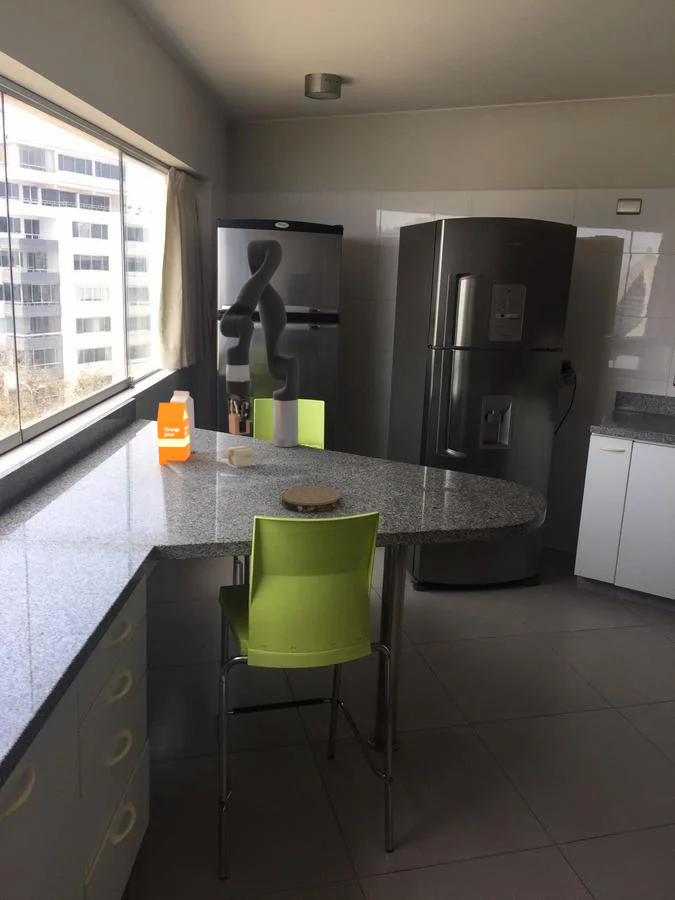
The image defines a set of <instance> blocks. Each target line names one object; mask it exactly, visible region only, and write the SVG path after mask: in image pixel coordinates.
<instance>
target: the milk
mask: <svg viewBox="0 0 675 900" xmlns="http://www.w3.org/2000/svg"><path fill="white" fill-rule="evenodd" d="M169 403H185V405H186V410H187V414H188V421H189V440H190V442H189V444H190V454H192V453H194V452H196V434H195V433H196V432H195V411H194V410H195V408H194V398H192V397H191V396H190V391H187V390H186V391H185V390H173V396H172V397H171V399H170V401H169ZM193 451H194V452H193ZM191 452H192V453H191Z"/></svg>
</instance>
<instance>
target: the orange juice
mask: <svg viewBox="0 0 675 900" xmlns="http://www.w3.org/2000/svg"><path fill="white" fill-rule="evenodd" d="M156 425H157V426H156V427H157V428H156V429H157V446H158V448H157V449H158V462H159V463H158V464H159V465H171V463H170V462H168V461H186V460H187V459H188V458H189V457H190V456H191V453H190V444H189V442H190V440H189V421H188V414H187V410H186V405H185V403H170V402H159V404H158V412H157V420H156Z"/></svg>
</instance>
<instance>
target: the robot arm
mask: <svg viewBox="0 0 675 900" xmlns="http://www.w3.org/2000/svg"><path fill="white" fill-rule="evenodd" d="M245 251H246V254H245V255H246V261H247V264H248V269H249V272H250V275H251V277H249V278H247V280H246V281H245V282H243V284H242V285H241V287H240V289H238V292H237V295H236V298H235V300H234V302H233V303H232V304H231V305H230V307H229V308H228V309H227V310H226V311H225V312H224V313H223V315H222V317H221V319H220V321H219V331H220V333H221V335H222V336H223V337H225V338H230V339H231V338H233V339H234V338H235V339H236V338H237V339H238V341H237V343H236V344H233V345H229V346H227V347H226V352H225V354H226V355H225V356H226V357H225V358H226V359H225V360H226V370H225V380H226V382H225V383H226V384H225V385H226V386H225V387H226V393H227V394H228V395H230V396H228V397H227V398H226V402H227V408H228V415H229V414H235V413H236V414H237V415H238V416H239V432H240V433H245V432H246V421H247V420H249V421H250V419H251V406H252V403H251V402H250V401H249V402H248V401H247V396H246V395H249V394H250V393H251V374H250V373H251V371H250V364H249V363H250V361H249V359H250V358H249V355H250V354H249V352H250V346H251V341H252V337H253V334H254V330H255V329H254V328H255V327H254V321H253V320H252V318H251V316H253V315H254V314H255V312H256V309H257V307H258V314H259V319H260V325H261V328H262V334H263V340H264V347H265V348H264V349H265V358H266V369H267V372H268V375H269V377H270V379H271V380H274V381H282V382H283V381H284V382H285V385H284V386H283V387H282V388H279V389H276V390H274V391H273V392H272V431H273V434H272V435H273V437H272V438H273V439H272V440H273V441H272V442H273V446H275V447H281V448H292V447H296V446H298V445H299V390H300V361H299V358H298V357H297V356H295V355H284V354H283V355H282V354H280V353H279V352H280V351H279V342H280V339H281V336H282V334H284V333H283V332H284V330H285V329H286V325H287V321H288V317H287V312H286V306H285V302H284V300H283V298H282V297H281V295H280V294H279V293H278V291H277V290H276V289H275V288H274V287H273V285H272V283H270V281H271V279H272V278H273V276H274V274H275V273H276V272H277V269H278V268H279V266H280V264H281V262H282V259H283V248H282V245H281V243H280V242H279V241H278V240H275V239H253V240H249V241H248V242H247V244H246V249H245Z"/></svg>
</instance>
